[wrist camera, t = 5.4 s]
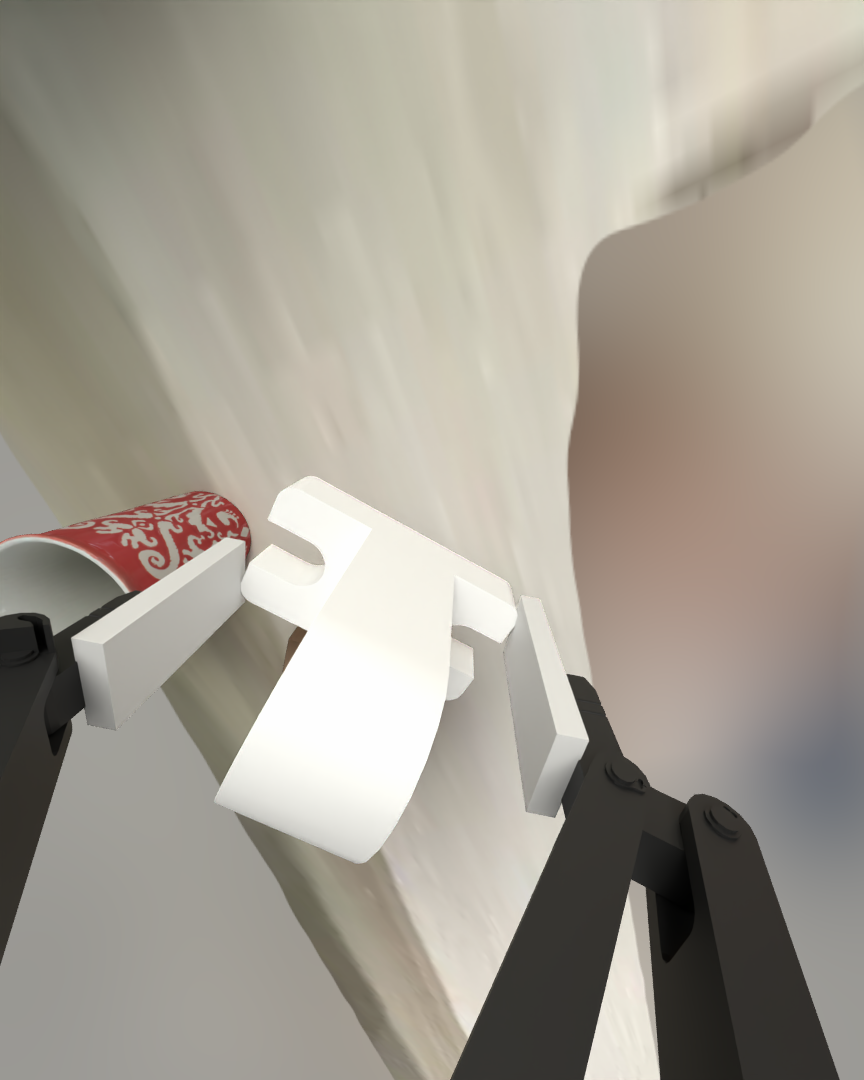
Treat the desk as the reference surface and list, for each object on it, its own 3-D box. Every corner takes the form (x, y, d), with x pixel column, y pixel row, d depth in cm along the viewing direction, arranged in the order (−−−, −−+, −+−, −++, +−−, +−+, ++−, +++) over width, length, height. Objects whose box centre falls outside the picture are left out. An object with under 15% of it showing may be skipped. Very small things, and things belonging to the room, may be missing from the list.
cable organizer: (454, 673, 19) (444, 959, 9) (258, 573, 18) (28, 788, 8) (518, 587, 17) (583, 838, 8) (303, 469, 16) (71, 596, 6)
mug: (247, 474, 32) (105, 530, 19) (274, 577, 35) (166, 683, 22) (103, 486, 33) (-118, 545, 21) (141, 584, 36) (-31, 688, 24)
